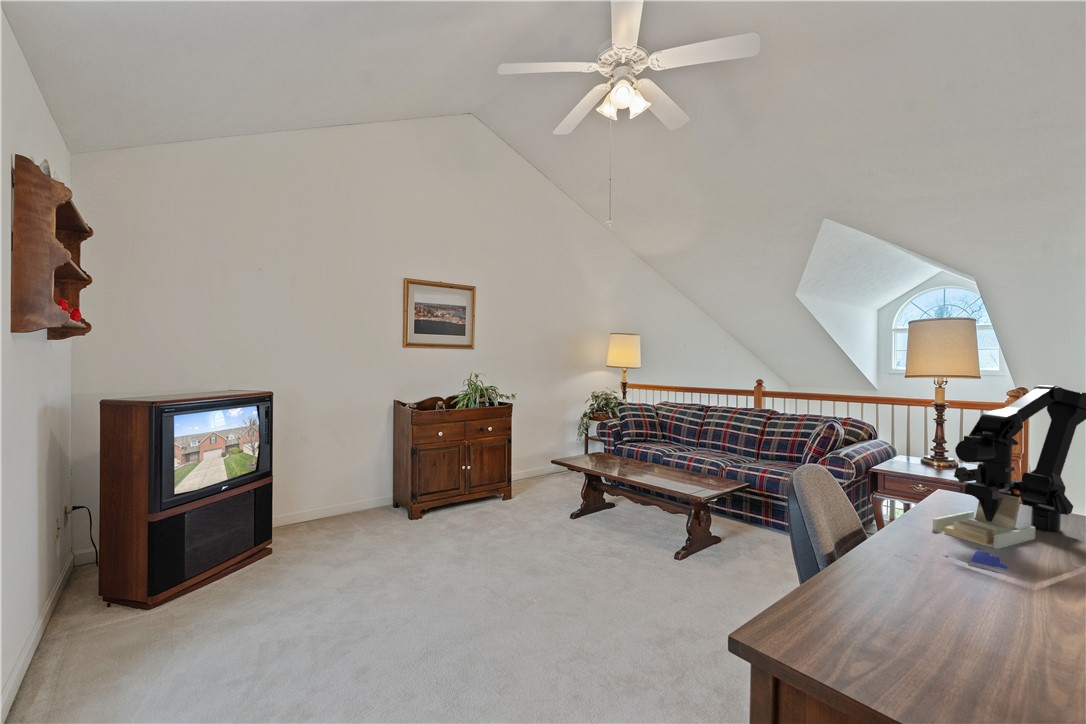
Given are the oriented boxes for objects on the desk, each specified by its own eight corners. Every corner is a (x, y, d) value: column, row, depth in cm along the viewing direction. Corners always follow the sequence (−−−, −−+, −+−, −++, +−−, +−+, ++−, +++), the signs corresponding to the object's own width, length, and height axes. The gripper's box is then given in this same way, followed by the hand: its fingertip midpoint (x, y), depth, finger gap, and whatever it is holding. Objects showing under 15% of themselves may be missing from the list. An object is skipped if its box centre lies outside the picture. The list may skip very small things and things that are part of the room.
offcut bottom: (957, 529, 135) (957, 524, 135) (999, 541, 127) (999, 535, 127) (944, 532, 133) (944, 526, 133) (986, 544, 124) (986, 538, 124)
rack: (969, 525, 142) (970, 510, 142) (1034, 542, 130) (1035, 527, 130) (932, 533, 135) (933, 518, 135) (997, 552, 122) (998, 536, 122)
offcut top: (964, 525, 134) (964, 520, 134) (996, 534, 127) (997, 528, 127) (953, 528, 132) (953, 522, 132) (986, 537, 125) (986, 531, 125)
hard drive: (1017, 573, 108) (1019, 557, 117) (968, 561, 114) (973, 546, 123) (1017, 580, 108) (1019, 563, 117) (967, 568, 114) (972, 553, 123)
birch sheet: (976, 526, 138) (983, 490, 139) (1013, 536, 131) (1020, 498, 132) (973, 525, 138) (981, 489, 139) (1010, 535, 130) (1018, 497, 131)
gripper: (979, 453, 145) (977, 507, 146) (942, 457, 137) (939, 515, 138) (1029, 461, 135) (1027, 519, 136) (992, 466, 127) (989, 528, 128)
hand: (994, 520), depth 134 cm, fingers open, 5 cm apart
